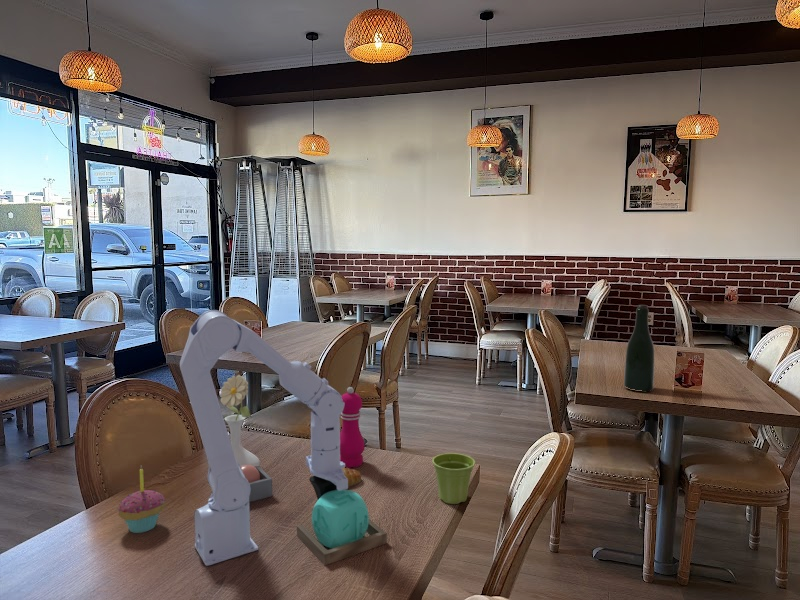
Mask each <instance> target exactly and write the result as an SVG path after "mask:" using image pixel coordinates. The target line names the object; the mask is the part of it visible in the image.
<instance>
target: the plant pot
mask: <svg viewBox="0 0 800 600" xmlns="http://www.w3.org/2000/svg"><path fill="white" fill-rule="evenodd" d="M431 462H432V465H433V466H434V470H435V473H436V481H437V490H438V497H439V498H438V499H439V500H441V501H443V502H444V503H446V504H451V505H452V504H453V505H458V504H460V503H465V502H466V501H467V499H468V493H469V488H470V487H469V486H470V481H471V480H470V479H471V475H472V471H473V468H474V466H475V465H476V460H475V459H474V458H472V456H469V455H466V454H462V453H455V452H447V453H440V454H438V455H436V456H435V455H434V456H433V457H432V461H431Z"/></svg>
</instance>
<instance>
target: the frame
mask: <svg viewBox="0 0 800 600" xmlns="http://www.w3.org/2000/svg"><path fill="white" fill-rule="evenodd" d="M366 533H368V534H369V535H368V536H365V537H363V538H362V539H359V540H356V541H353V542H350V543H347V544H344V545H341V546H338V547H336V548H333V549H332V548H329V549H327V547H326V546H325V547H326V548H325V547H324V545H323V544H322V543H321V542H320V541H319V540H318V538H316V536H314V535H313V534H312V533H311V532H310V531H309V530H308V529H307V528H306V527H305V526H304V525H303V524H299V525H296V536H297V538H299V540H301V542H302V543H303V544H304V545H305V546H306V547H307V548H308V549H309V550H310V551H311V552H312V554H313V555H314V556H315V557H316V558H317V559H319V561H320V562H321V563H322V564H323V565H324V566H327V565H330V564H333V563H336V562H339V561H341V560H344V559H347V558H350V557H353V556H355V555H358V554H361V553H363V552H366V551H369V550H372V549H375V548H377V547H380V546H383V545H385V544H388V534H387V532H386V531H385V530H384V529H382V528H381V527H380V526H379V525H378V524H376V523H375V522H373V521H372V520H371V519H370V518H369V524H368V528H367V530H366Z"/></svg>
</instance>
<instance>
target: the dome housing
mask: <svg viewBox="0 0 800 600" xmlns="http://www.w3.org/2000/svg"><path fill="white" fill-rule="evenodd" d="M254 467H255V468H256V469H257V470H258V472H259V474H260V480H259V481H255V482H251V483H249V484H250V488H251V491H250V496H249V503H252V502H255V501H259V500H262V499H266V498H270V497H273V478H272V477H271V476H270V475H269V474H268V473H266V472H265V470H263V468H261V466H254Z"/></svg>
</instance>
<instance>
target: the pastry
mask: <svg viewBox="0 0 800 600" xmlns="http://www.w3.org/2000/svg"><path fill="white" fill-rule="evenodd" d="M342 470H343V472H344V475H345V477H346V478H347V479H348V487H352V486H355V485H357V484H359V483H361V481H362V475H361V472H360V471H359V470H356V469H353V468H342Z"/></svg>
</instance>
